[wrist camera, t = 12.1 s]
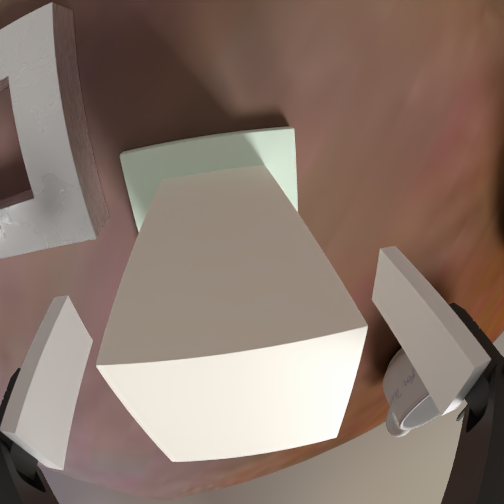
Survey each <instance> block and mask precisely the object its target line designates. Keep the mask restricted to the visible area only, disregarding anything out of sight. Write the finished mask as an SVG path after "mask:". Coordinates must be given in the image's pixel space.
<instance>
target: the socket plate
mask: <svg viewBox="0 0 504 504" xmlns="http://www.w3.org/2000/svg"><path fill="white" fill-rule="evenodd" d="M9 86H10V94H11V101H12V107H13V113H14V119H15V124H16V129H17V134H18V138H19V143H20V147H21V152H22V156H23V160H24V164H25V167H26V171H27V175H28V178H29V182H30V185H31V188H32V189H30V190H27V191H24V192H21V193H18V194H15V195H13V196H10V197H7V198H4V199H2V200H0V259H2V258H6V257H10V256H15V255H19V254H24V253H28V252H33V251H38V250H42V249H47V248H52V247H56V246H61V245H66V244H71V243H76V242H81V241H86V240H91V239H96V238H97V237H98V235H99V233H100V232H101V230H102V229H103V227H104V225H105V224H106V222H107V220H108V219H109V217H110V216H109V212H108V209H107V205H106V202H105V198H104V195H103V191H102V187H101V183H100V179H99V175H98V171H97V167H96V163H95V159H94V155H93V150H92V146H91V141H90V136H89V131H88V126H87V121H86V116H85V110H84V104H83V98H82V92H81V85H80V78H79V70H78V62H77V53H76V42H75V30H74V13H73V11H72V10H69V9H67V8H65V7H63V6H60V5H58V4H56V3H53V2H51V3H49V4H47V5H45V6H43V7H41V8H39V9H37V10H35V11H33V12H31V13H29V14H27V15H25V16H23V17H21V18H20V19H18V20H16V21H14V22H12V23H11V24H9V25H7V26H6V27H4V28H2V29H1V30H0V91H2V90H4V89H5V88H7V87H9Z"/></svg>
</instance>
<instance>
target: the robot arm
mask: <svg viewBox="0 0 504 504" xmlns="http://www.w3.org/2000/svg"><path fill="white" fill-rule="evenodd" d="M372 301H373V302H374V304H375V305H376V307H377V309H378V310H379V312H380V313H381V315H382V316H383V318H384V319H385V321H386V322H387V324H388V326H389V327H390V329H391V330H392V332H393V334H394V335H395V337H396V338H397V340H398V342H399V343H400V345H401V346H402V348H403V350H404V351H405V353H406V355H407V356H408V358H409V360H410V361H411V363H412V365H413V366H414V368H415V370H416V371H417V373H418V375H419V377H420V378H421V380H422V382H423V383H424V385H425V387H426V389H427V390H428V392H429V394H430V396H431V398H432V399H433V401H434V403H435V405H436V407H437V408H438V410H439V412H440V414H441V415H444V414H446V413H448V412H450V411H452V410H454V409H456V408H458V406H459V405H460V404H461V402H462V401H463V400H464V399H465V400H466V402H467V403H468V404H467V406H466V407H465V408H464V409H463V411H462V412H461V413H460V414H459V415H458V417H457V420H456V421H459V420H460V419H461V418H462V417H463V416H464V418H463V421H462V422H463V423H462V429H461V434H460V438H459V443H458V447H457V451H456V455H455V459H454V463H453V467H452V470H451V474H450V477H449V481H448V484H447V487H446V490H445V493H444V496H443V499H442V502H441V504H504V357H503V356H502V355H501V354H500V353H499V352H498V350H497V349H496V348H495V346H494V345H493V344H492V342H491V341H490V340H489V339H488V337H487V336H486V335H485V334H484V332H483V331H482V330H481V329H479V326H478V325H477V324H476V322H475V321H473V319H472V318H471V316H470V315H469V314H468V313H467V312H466V311H465V310H464V309H463V308H461V307H460V306H458V305H457V304H455V303H452V304H449V305H448V304H447V303H446V301H445V300H444V299H443V298H442V297H441V296H440V294H439V293H438V292H437V291H436V290H435V289H434V287H433V286H432V285H431V284H430V283H429V282H428V281H427V280H426V279H425V277H424V276H423V275H422V274H421V273H420V272H419V271H418V270H417V269H416V268H415V266H414V265H413V264H412V263H411V262H410V261H409V260H408V259H407V258H406V257H405V256H404V255H403V254H402V253H401V252H400V251H399V250H398V249H397V248H396V246H392V247H386V248H380V252H379V259H378V265H377V272H376V278H375V284H374V289H373V295H372ZM92 342H93V341H92V339H91V337H90V335H89V334H88V332H87V330H86V328H85V327H84V325H83V323H82V321H81V319H80V317H79V315H78V314H77V312H76V310H75V308H74V306H73V304H72V302H71V300H70V298H69V296H60V297H54V299H53V301H52V303H51V305H50V307H49V309H48V311H47V313H46V315H45V317H44V319H43V321H42V323H41V325H40V327H39V329H38V331H37V333H36V335H35V337H34V340H33V342H32V344H31V346H30V349H29V351H28V353H27V355H26V358H25V360H24V362H23V365H22V367H21V368H18V369H17V371H16V372H15V373H14V374H13V376H12V377H11V379H10V381H9V384H8V387H7V391H6V392H5V395H4V400H2V403H1V406H0V504H59V503H58V501H57V499H56V497H55V496H54V494H53V492H52V490H51V488H50V486H49V485H48V483H47V481H46V479H45V477H44V475H43V473H42V471H41V470H40V468H39V467H38V466H37V463H38V461H39V462H41V463H42V464H44V465H45V466H47V467H50V468H54V469H60V470H63V468H64V461H65V455H66V449H67V444H68V438H69V433H70V428H71V423H72V419H73V414H74V410H75V405H76V401H77V397H78V393H79V389H80V385H81V381H82V377H83V373H84V370H85V366H86V363H87V359H88V356H89V352H90V349H91V346H92Z"/></svg>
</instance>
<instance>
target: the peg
mask: <svg viewBox="0 0 504 504" xmlns="http://www.w3.org/2000/svg"><path fill="white" fill-rule="evenodd" d="M367 329H368V325H367V323H366V321H365V320H364V318H363V316H362V315H361V313H360V311H359V309H358V308H357V306H356V304H355V303H354V301H353V299H352V298H351V296H350V294H349V293H348V291H347V289H346V288H345V286H344V284H343V283H342V281H341V280H340V278H339V276H338V275H337V273H336V271H335V270H334V268H333V267H332V265H331V263H330V262H329V260H328V259H327V257H326V255H325V254H324V252H323V251H322V249H321V248H320V246H319V245H318V243H317V241H316V240H315V238H314V237H313V235H312V234H311V232H310V231H309V229H308V228H307V226H306V224H305V223H304V221H303V220H302V218H301V217H300V215H299V214H298V212H297V211H296V209H295V208H294V206H293V205H292V203H291V202H290V200H289V199H288V198H287V196H286V195H285V193H284V192H283V190H282V189H281V187H280V186H279V184H278V183H277V181H276V180H275V179H274V177H273V176H272V174H271V173H270V171H269V170H268V169H267V167H266V166H265V165H257V166H249V167H241V168H234V169H226V170H219V171H213V172H206V173H200V174H193V175H187V176H181V177H176V178H170V179H164V180H161V182H160V184H159V186H158V188H157V191H156V193H155V195H154V198H153V200H152V202H151V205H150V207H149V209H148V212H147V214H146V216H145V219H144V221H143V224H142V226H141V229H140V231H139V234H138V236H137V239H136V241H135V244H134V247H133V249H132V252H131V255H130V257H129V260H128V263H127V265H126V268H125V271H124V274H123V277H122V280H121V282H120V285H119V288H118V291H117V294H116V297H115V300H114V303H113V307H112V310H111V313H110V316H109V319H108V323H107V326H106V329H105V333H104V336H103V340H102V343H101V347H100V351H99V354H98V358H97V362H96V367H97V368H98V370H99V371H100V373H101V374H102V376H103V377H104V379H105V380H106V381H107V383H108V384H109V386H110V387H111V388H112V390H113V391H114V393H115V394H116V395H117V397H118V398H119V399H120V401H121V402H122V403H123V405H124V406H125V407H126V408H127V410H128V411H129V412H130V414H131V415H132V416H133V417H134V419H135V420H136V421H137V422H138V424H139V425H140V426H141V427H142V428H143V430H144V431H145V432H146V433H147V434H148V435H149V437H150V438H151V439H152V440H153V441H154V442H155V443H156V445H157V446H158V447H159V448H160V449H161V450H162V451H163V452H164V453H165V454H166V455H167V457H168V458H169V459H170V460H171V461H172V462H181V461H200V460H213V459H224V458H233V457H241V456H249V455H256V454H262V453H268V452H274V451H279V450H285V449H290V448H295V447H299V446H304V445H308V444H312V443H317V442H321V441H325V440H328V439H332V438H336V437H337V434H338V432H339V429H340V426H341V423H342V420H343V417H344V414H345V410H346V407H347V404H348V401H349V397H350V394H351V391H352V387H353V384H354V380H355V377H356V373H357V369H358V366H359V362H360V358H361V354H362V350H363V346H364V342H365V337H366V333H367Z"/></svg>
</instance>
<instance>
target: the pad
mask: <svg viewBox="0 0 504 504" xmlns="http://www.w3.org/2000/svg"><path fill="white" fill-rule="evenodd" d="M119 156H120V160H121V165H122V169H123V173H124V178H125V182H126V186H127V190H128V194H129V198H130V202H131V206H132V210H133V214H134V217H135V221H136V225H137V228H138V232H139V231H140V229H141V226H142V224H143V221H144V219H145V216H146V214H147V212H148V209H149V207H150V205H151V202H152V200H153V198H154V195H155V193H156V191H157V188H158V186H159V184H160V182H161V180H164V179H170V178H176V177H181V176H187V175H193V174H200V173H206V172H213V171H219V170H226V169H234V168H241V167H249V166H257V165H265V166H266V167H267V169H268V170H269V171H270V173H271V174H272V176H273V177H274V179H275V180H276V181H277V183H278V184H279V186H280V187H281V189H282V190H283V192H284V193H285V195H286V196H287V198H288V199H289V200H290V202H291V203H292V205H293V206H294V208H295V209H296V211H297V212H298V202H297V175H296V154H295V135H294V128H292V127H290V126H288V127H275V128H264V129H254V130H245V131H237V132H229V133H221V134H214V135H207V136H201V137H195V138H188V139H183V140H177V141H171V142H166V143H161V144H156V145H151V146H146V147H141V148H137V149H132V150H128V151H124V152H123V153H121V154H120V155H119Z"/></svg>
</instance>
